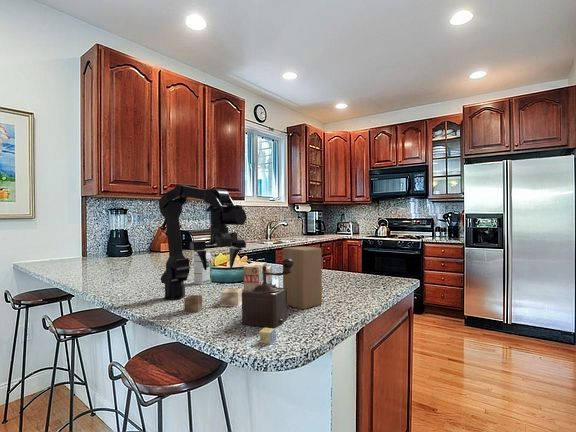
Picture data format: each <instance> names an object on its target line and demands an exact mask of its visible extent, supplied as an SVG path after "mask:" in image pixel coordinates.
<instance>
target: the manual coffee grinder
mask: <svg viewBox="0 0 576 432" xmlns="http://www.w3.org/2000/svg"><path fill="white" fill-rule="evenodd" d="M281 266H282V271H281V272H273V271H272V272H267V271H266V268H267V267H266V266H263V267H262V269H263V271H262V273H263V283H262V284H260V285H258V286H256V287H255V288H253V289H250V290H247V291H245V292H244V291H242V304H241V324H242V325H243V326H247V327H248V326H249V327H255V328H262V329H263V328H272V329H276V328H277V327H279V326H280V325H282V324H283V323H284V322H285V321H287V319H288V305H287V288H283V287H277V283H275V284H273V283H272V284H271V283H269V284H267V282H266V275H272V276H277V277H278V276H279V277H280V276H283V275H284V274H285V275H287V274H288V273H291V268H292V266H293V260H291V259H287V258H286V259H284V260H283V259H282V260H281ZM283 268H284V270H283Z"/></svg>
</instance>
